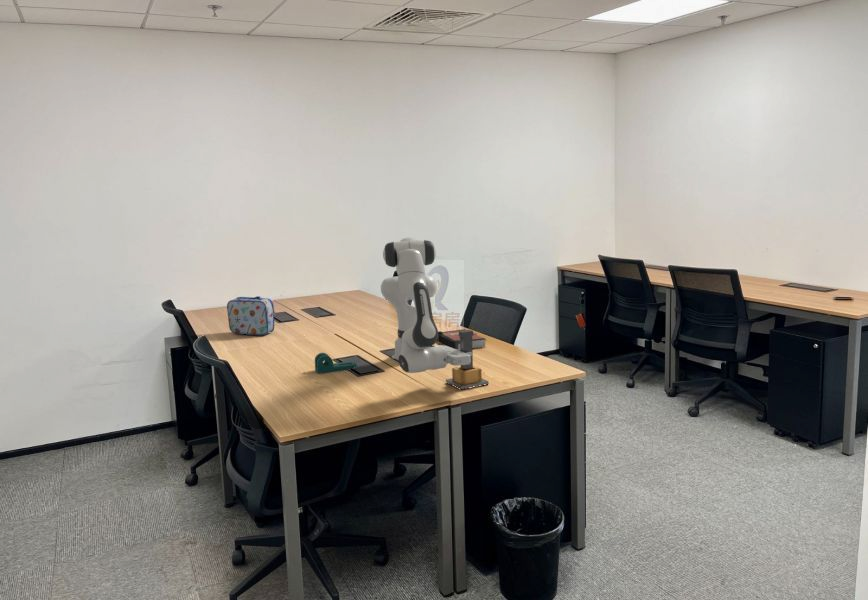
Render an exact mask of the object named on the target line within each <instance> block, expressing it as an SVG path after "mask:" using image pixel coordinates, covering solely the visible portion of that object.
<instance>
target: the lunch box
mask: <svg viewBox="0 0 868 600" xmlns="http://www.w3.org/2000/svg"><path fill="white" fill-rule="evenodd" d="M274 306H275V305H274V302H273V301H272V299H270V298H269V297H261V296H260V295H259V296H255V297H251V296H250V297H249V296H238V297H236V298H234V299H231V300H229V301H227V304H226V309H227V319H228V326H229V327H228V328H229V330H230V331H231V333H233V334H236V333H237V334H236V335H243V334H246V336H264V335H267V333H268V334H270V333H269V332H271V333H273V332H274V329H275V314H276V313H277V312H276V309H275V307H274Z"/></svg>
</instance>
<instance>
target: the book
mask: <svg viewBox="0 0 868 600" xmlns="http://www.w3.org/2000/svg"><path fill="white" fill-rule="evenodd" d="M464 330H466V329H456V330H446V331H442V330H438V339H437V341H439V343H440V344H442V345H444V346H448V347H451V348H453V349H459V350H460V336H459V331H464ZM437 341H436V342H437ZM486 341H487V338H485V337H483V336H480V335H478V333H477V332H473V336H472V350H474V349H473V348H477V349H481V348H480V347H484V348H486V347H485V346H486Z"/></svg>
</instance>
